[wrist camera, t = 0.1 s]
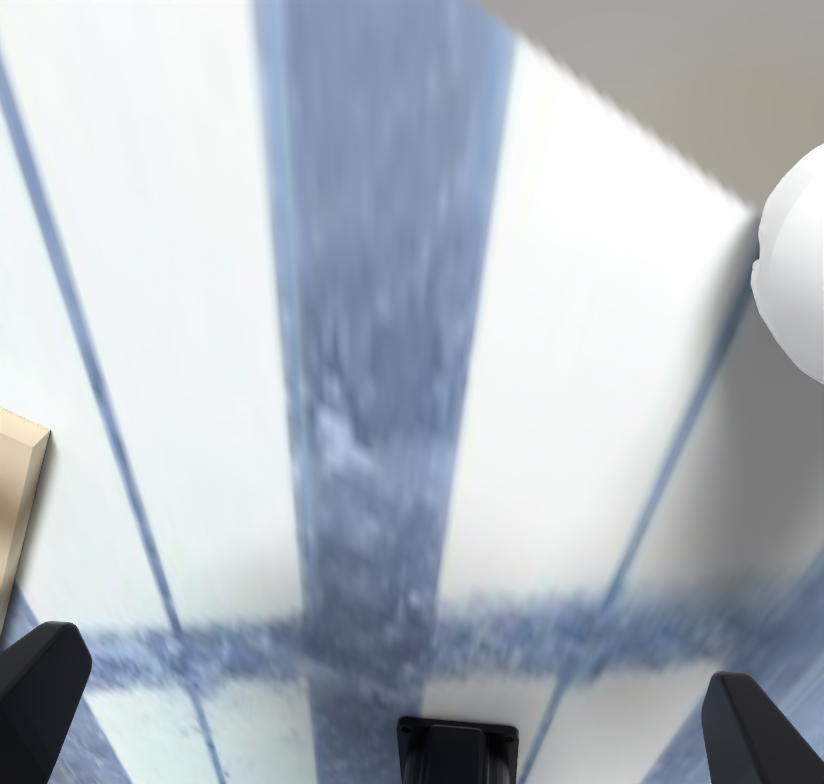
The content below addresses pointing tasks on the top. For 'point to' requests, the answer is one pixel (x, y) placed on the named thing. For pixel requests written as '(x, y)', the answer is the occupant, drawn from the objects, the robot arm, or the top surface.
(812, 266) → the water bottle
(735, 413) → the top surface
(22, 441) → the board
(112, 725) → the top surface
